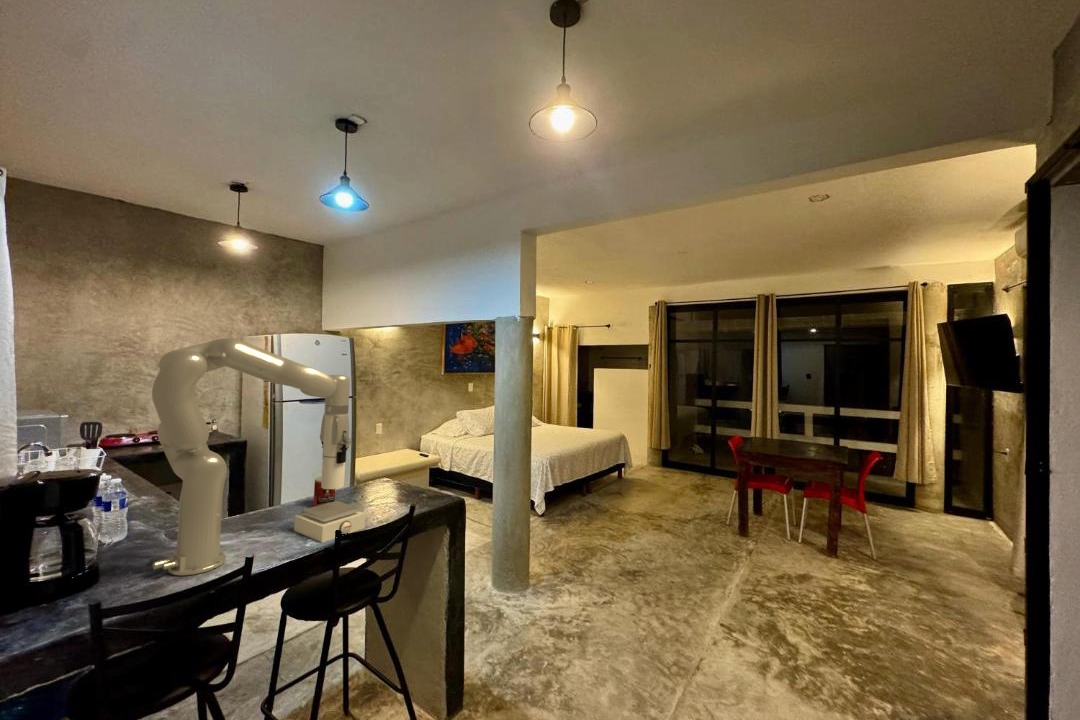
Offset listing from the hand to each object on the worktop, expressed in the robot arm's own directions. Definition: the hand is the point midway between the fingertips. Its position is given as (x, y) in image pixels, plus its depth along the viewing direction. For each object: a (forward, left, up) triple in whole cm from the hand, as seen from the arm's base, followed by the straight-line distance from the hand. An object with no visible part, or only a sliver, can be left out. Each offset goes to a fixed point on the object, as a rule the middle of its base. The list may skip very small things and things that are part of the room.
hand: (334, 460), depth 150 cm
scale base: (0, 0, -24) cm, 24 cm away
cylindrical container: (0, 0, -9) cm, 9 cm away
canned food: (+13, +24, -24) cm, 36 cm away
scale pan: (0, 0, -18) cm, 18 cm away
